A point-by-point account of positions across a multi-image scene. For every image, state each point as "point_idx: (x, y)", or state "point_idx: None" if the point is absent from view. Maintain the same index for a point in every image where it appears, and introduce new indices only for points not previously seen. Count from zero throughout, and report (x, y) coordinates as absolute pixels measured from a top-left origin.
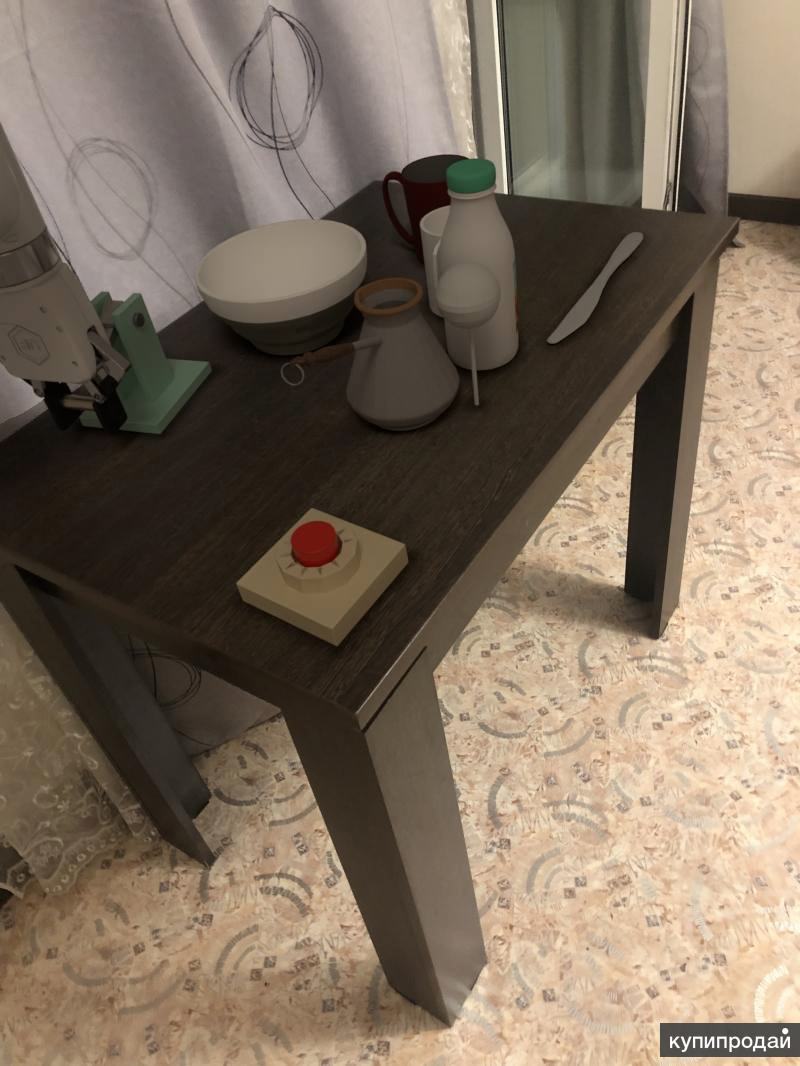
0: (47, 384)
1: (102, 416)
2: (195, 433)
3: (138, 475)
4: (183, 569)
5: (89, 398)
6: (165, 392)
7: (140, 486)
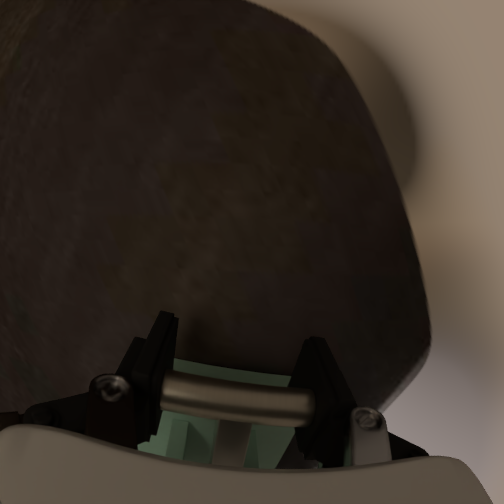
0: (343, 448)
1: (144, 344)
2: (77, 341)
3: (122, 229)
4: (13, 34)
5: (203, 410)
6: (166, 434)
7: (104, 194)
